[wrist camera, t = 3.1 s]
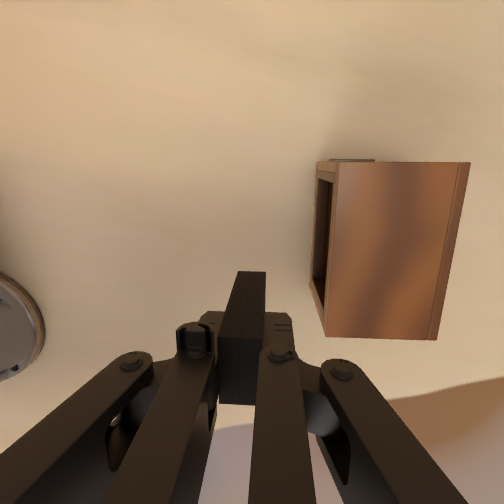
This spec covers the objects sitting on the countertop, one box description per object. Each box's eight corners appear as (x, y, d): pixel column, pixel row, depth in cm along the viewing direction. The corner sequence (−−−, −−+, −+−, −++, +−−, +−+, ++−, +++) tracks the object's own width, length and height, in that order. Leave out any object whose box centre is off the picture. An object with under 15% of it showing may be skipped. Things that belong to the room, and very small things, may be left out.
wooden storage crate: (309, 287, 36) (325, 339, 26) (316, 159, 32) (339, 158, 22) (387, 289, 36) (436, 343, 25) (405, 160, 32) (472, 159, 21)
